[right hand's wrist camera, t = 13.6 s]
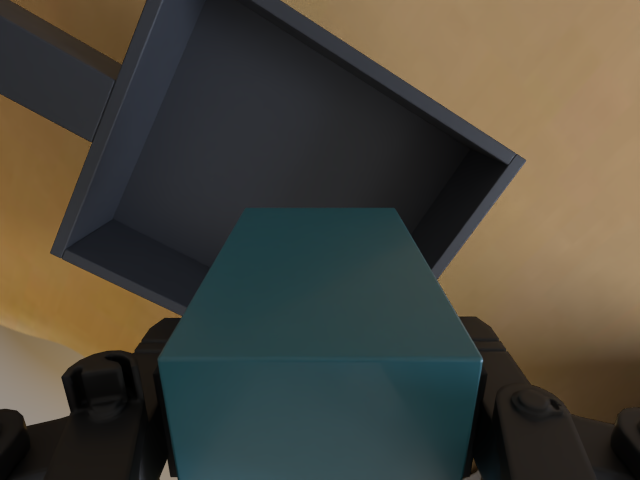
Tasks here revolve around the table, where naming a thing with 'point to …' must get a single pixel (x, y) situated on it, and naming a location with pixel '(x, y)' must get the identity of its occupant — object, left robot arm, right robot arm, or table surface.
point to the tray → (239, 138)
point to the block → (320, 356)
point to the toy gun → (474, 476)
